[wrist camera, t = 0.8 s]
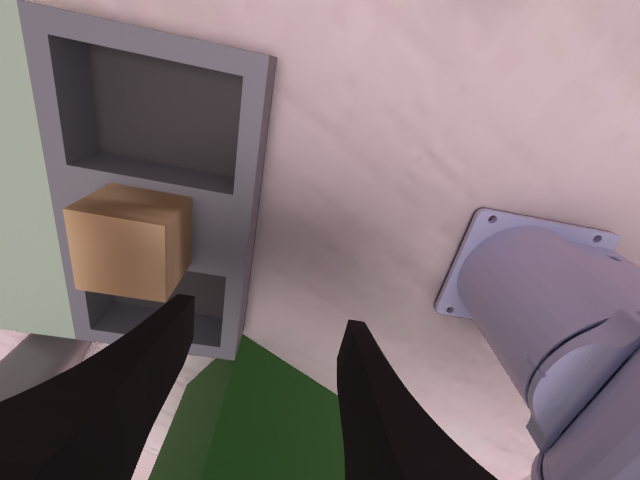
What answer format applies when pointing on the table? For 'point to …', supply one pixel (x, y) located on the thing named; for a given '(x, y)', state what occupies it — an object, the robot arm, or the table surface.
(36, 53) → the box
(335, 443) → the hardback book
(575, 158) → the table surface
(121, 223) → the maple block
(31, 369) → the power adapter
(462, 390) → the table surface
